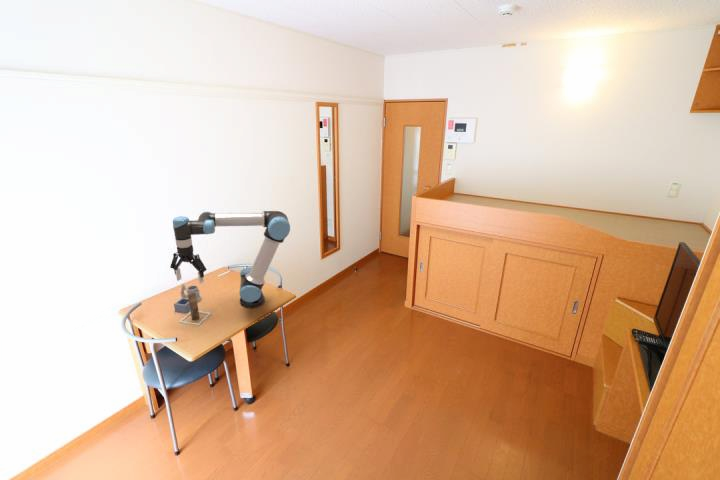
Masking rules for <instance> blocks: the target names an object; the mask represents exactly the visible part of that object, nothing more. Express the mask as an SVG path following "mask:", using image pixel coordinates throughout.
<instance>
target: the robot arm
mask: <svg viewBox="0 0 720 480" xmlns="http://www.w3.org/2000/svg"><path fill="white" fill-rule="evenodd" d="M260 226H261V227H263V228H265V230H264V232H263V237H264V240H263V242H262V243H261V245H260V248H259V251H258V253H257V256H256V258H255V260H254V262H253V264H252V265H251V266H250V267H249V266H248V267H246V268H243V269H241V270H240V272H239V275H240V285H239V297H240V298H239V304H240V306H241V307H244V308H247V309H253V308H257V307H261V306H262V305H263V304H264V303H265V300H266V299H265V295H264V293H263V290H262V289H263V287H264V285H265V283H266V280H265V279H264V278H265V276H266V274H267V272H268V271H269V267H270V265H271V263H272V261H273V259H274V257H275V254H276V253H277V249H278V248H279V245H280V244H283V243H284V241H285V239H286V238H287V237H288V236H289V234H290V232H291V225H290V222H289V218H288V216H287V214H285V213H284V212H282V211H279V210H263V211H262V212H227V213H226V212H225V213H223V212H221V213H220V212H219V213H216V212H215V213H214V212H213V213H212V212H211V211H203V212H202V213H200V214H199V216H198V219H197V220H190V219H189V217H188V216H185V215H184V216H183V215H182V216H176V217H174V218H173V219H172V228H173V232H174V239H175V244H176V250H177V251H175V252H174V253H173V254H172V255H173V256H172V260H171V263H170V265H169V267H170V269H173V270H174V275H175V276H176V281H178V282H179V281H180V280H182V279H183V278H182V273H181V269H180V266H181V265H182V263H189V264H191V265H192V266H193V267H194V268H195V269H196V271H197V275H198V282H199V284H201V285H202V283H204V277H205V274H204V272H206V271H207V268H206V266H205V264H204V263H203V261H202V259H201V258H200V254H198V253H197V254H194V246H193V240H192V236H195V235H213V234H214V233H215V232H216V227H260Z"/></svg>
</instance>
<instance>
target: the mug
mask: <svg viewBox="0 0 720 480" xmlns="http://www.w3.org/2000/svg"><path fill="white" fill-rule="evenodd" d="M185 291H186V294H185ZM190 293H196V298H197V303H199V302H200V301H201V300H202V297H201V294H200V289H199V286H198V285H195V284H194V285H193V284H192V285H189V286H187V287H186V285H185V284H184V283H182V284H181V289H180V296H181V298H188V294H190ZM188 299H189V298H188Z"/></svg>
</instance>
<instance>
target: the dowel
mask: <svg viewBox="0 0 720 480" xmlns="http://www.w3.org/2000/svg"><path fill="white" fill-rule="evenodd" d="M188 298H189V305H190V311H189V312H191V315H190V316H191V320H192V321H198V320H199V319H200V313H199V311H200V310H199V305H198V302H197V298H196V293H190V294H188Z"/></svg>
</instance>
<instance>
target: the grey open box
mask: <svg viewBox="0 0 720 480" xmlns="http://www.w3.org/2000/svg"><path fill="white" fill-rule="evenodd" d="M173 308H174V312H175V313H180V314H181V313H182V314H189V313H190V312H191V311H190V305H189V299H188V298H182V297H181V298H180V299H178V300H176V301H175V302H174V303H173Z"/></svg>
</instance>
